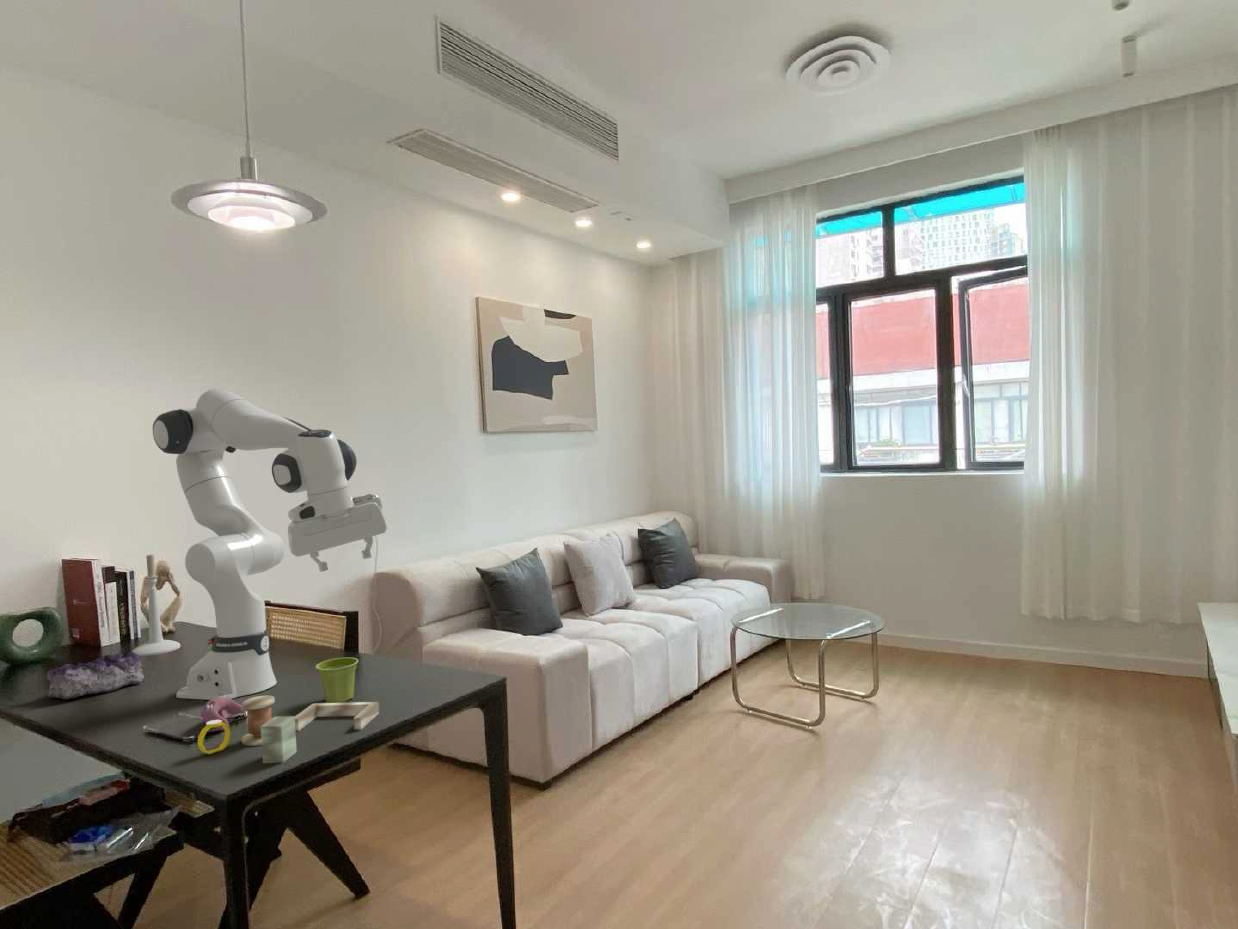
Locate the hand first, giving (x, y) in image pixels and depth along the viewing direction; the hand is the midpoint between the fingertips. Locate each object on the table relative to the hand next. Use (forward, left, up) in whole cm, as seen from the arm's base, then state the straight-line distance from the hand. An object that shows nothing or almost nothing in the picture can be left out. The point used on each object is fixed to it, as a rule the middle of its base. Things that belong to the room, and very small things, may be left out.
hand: (346, 564), depth 163 cm
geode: (-77, +21, -34) cm, 87 cm away
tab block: (-5, -22, -34) cm, 40 cm away
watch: (-20, -19, -34) cm, 44 cm away
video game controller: (-28, -4, -34) cm, 44 cm away
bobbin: (-14, -13, -33) cm, 39 cm away
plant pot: (-8, +10, -34) cm, 36 cm away
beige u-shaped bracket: (-2, -5, -33) cm, 34 cm away
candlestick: (-89, +59, -34) cm, 112 cm away
